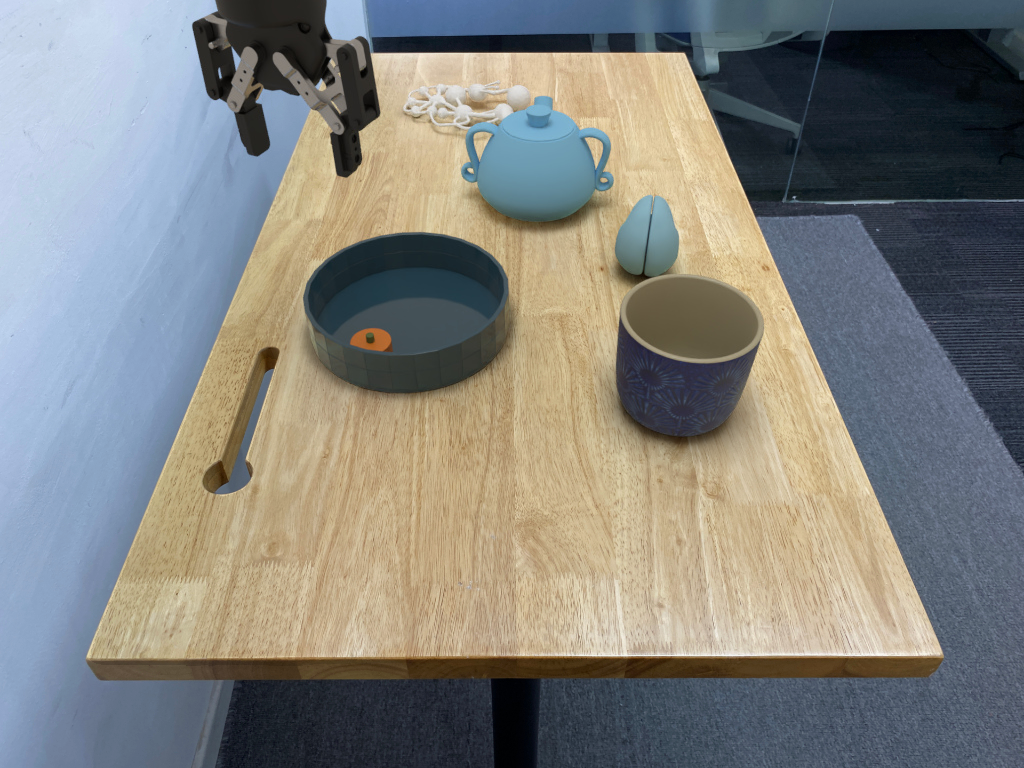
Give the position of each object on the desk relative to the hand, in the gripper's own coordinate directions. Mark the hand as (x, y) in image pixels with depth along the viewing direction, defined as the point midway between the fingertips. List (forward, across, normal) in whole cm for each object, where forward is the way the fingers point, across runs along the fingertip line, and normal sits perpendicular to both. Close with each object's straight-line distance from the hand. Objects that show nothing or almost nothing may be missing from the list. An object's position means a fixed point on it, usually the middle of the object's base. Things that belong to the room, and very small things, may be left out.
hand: (303, 162), depth 62 cm
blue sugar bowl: (+22, +5, +40) cm, 46 cm away
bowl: (+22, +3, +9) cm, 24 cm away
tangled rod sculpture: (+22, -14, +57) cm, 63 cm away
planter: (+23, +32, +9) cm, 40 cm away
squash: (+22, +3, +1) cm, 22 cm away
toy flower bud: (+22, +22, +31) cm, 44 cm away
